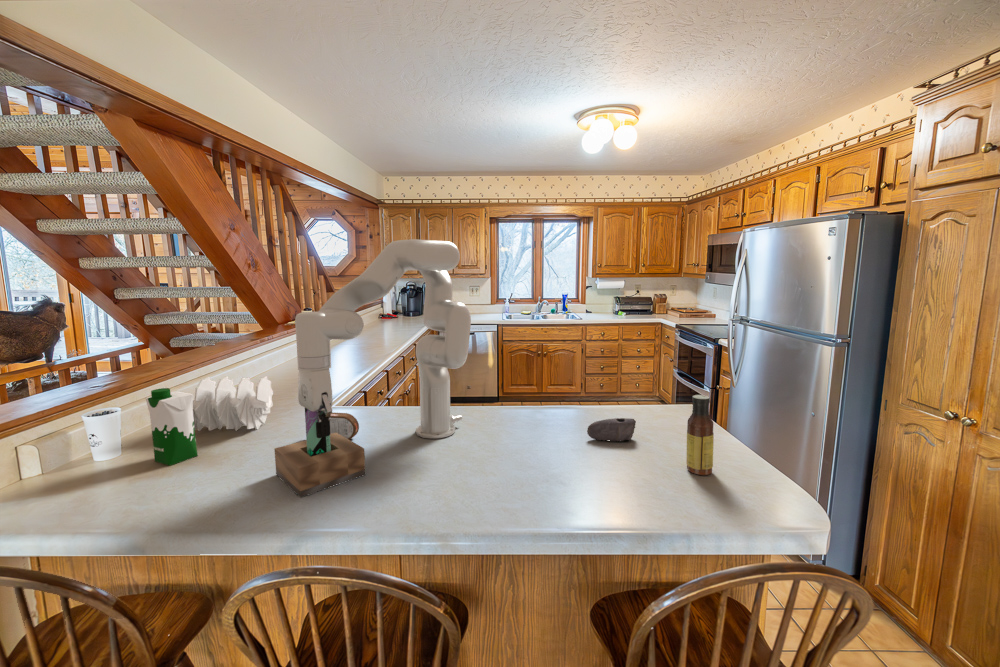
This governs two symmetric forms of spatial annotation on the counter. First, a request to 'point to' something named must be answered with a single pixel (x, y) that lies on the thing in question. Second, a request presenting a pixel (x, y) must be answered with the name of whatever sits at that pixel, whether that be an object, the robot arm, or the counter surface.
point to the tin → (344, 425)
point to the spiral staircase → (231, 404)
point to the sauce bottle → (700, 437)
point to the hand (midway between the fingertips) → (318, 432)
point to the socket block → (319, 465)
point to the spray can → (314, 443)
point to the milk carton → (172, 426)
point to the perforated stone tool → (612, 429)
